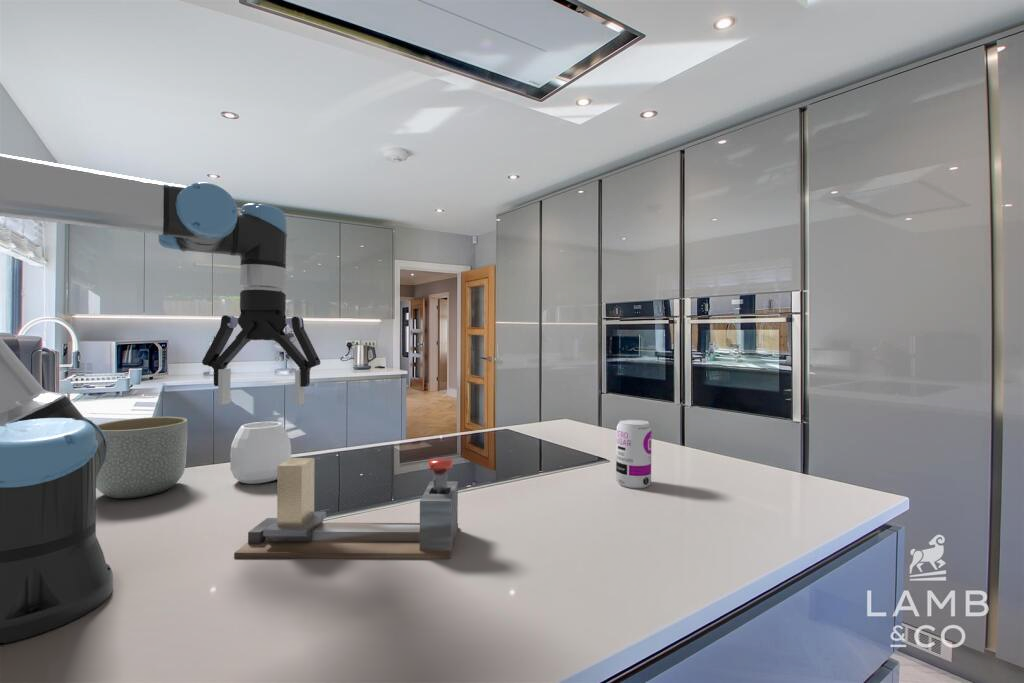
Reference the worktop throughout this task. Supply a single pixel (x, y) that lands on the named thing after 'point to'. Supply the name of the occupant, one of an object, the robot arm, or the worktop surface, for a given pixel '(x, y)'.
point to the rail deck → (342, 548)
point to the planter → (142, 456)
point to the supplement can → (633, 453)
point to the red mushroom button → (440, 473)
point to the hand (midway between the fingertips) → (262, 404)
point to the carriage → (295, 503)
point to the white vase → (259, 451)
